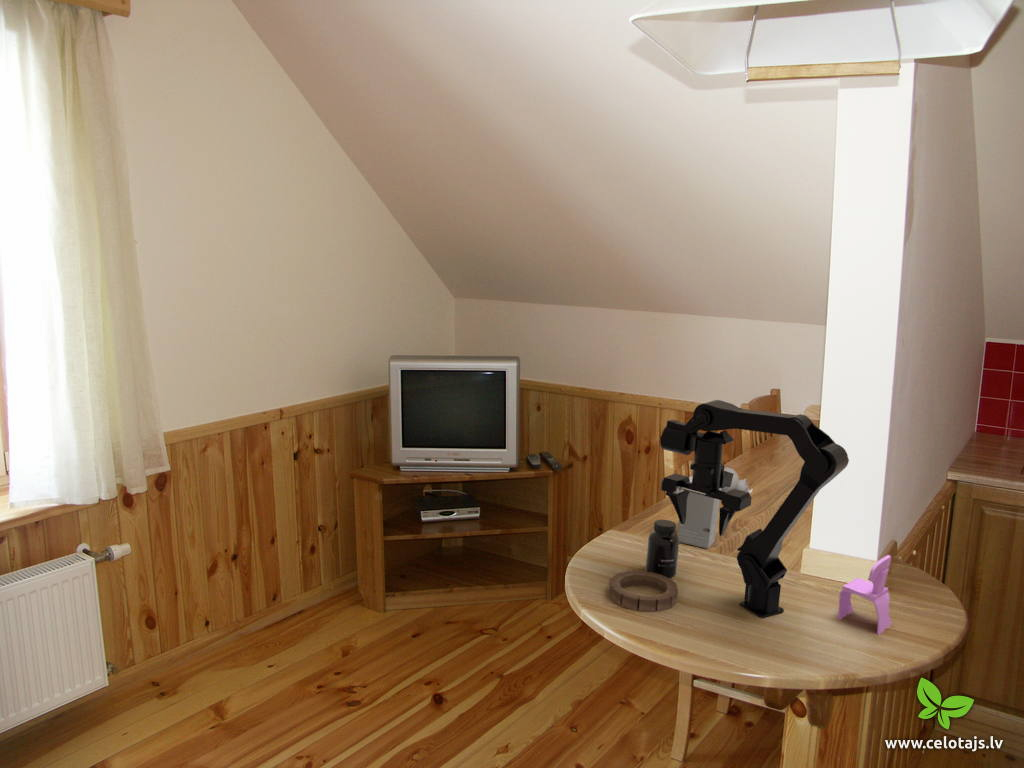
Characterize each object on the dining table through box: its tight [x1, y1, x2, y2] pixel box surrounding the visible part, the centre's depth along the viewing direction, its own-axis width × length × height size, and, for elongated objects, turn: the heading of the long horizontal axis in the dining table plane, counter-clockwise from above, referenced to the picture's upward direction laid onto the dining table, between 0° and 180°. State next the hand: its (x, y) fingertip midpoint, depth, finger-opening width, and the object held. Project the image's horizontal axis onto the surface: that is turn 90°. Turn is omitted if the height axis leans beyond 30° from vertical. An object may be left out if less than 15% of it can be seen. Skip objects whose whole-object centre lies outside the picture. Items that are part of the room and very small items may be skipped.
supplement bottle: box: [645, 519, 680, 579], centre depth 184 cm, size 7×7×12 cm
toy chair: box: [837, 554, 893, 636], centre depth 164 cm, size 8×9×15 cm
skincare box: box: [676, 475, 722, 549], centre depth 203 cm, size 8×7×16 cm
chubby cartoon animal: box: [721, 466, 753, 495], centre depth 239 cm, size 7×12×8 cm, turn 86°
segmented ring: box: [608, 570, 679, 613], centre depth 174 cm, size 14×14×2 cm
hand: (701, 529), depth 177 cm, fingers open, 9 cm apart
